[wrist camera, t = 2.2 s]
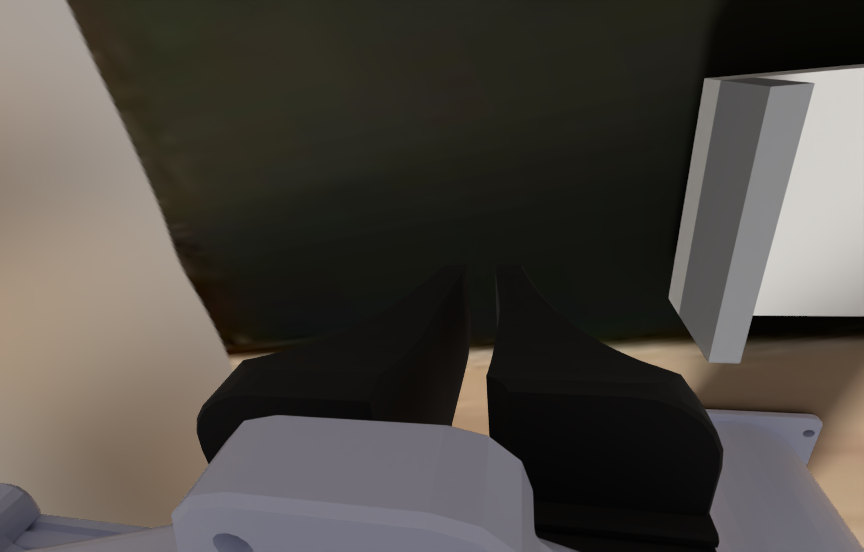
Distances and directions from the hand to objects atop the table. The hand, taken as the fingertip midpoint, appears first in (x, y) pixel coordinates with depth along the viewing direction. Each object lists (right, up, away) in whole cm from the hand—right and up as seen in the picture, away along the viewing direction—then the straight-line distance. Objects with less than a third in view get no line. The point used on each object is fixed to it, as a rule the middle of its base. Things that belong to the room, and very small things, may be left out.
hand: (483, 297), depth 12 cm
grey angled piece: (+14, +4, +6) cm, 16 cm away
